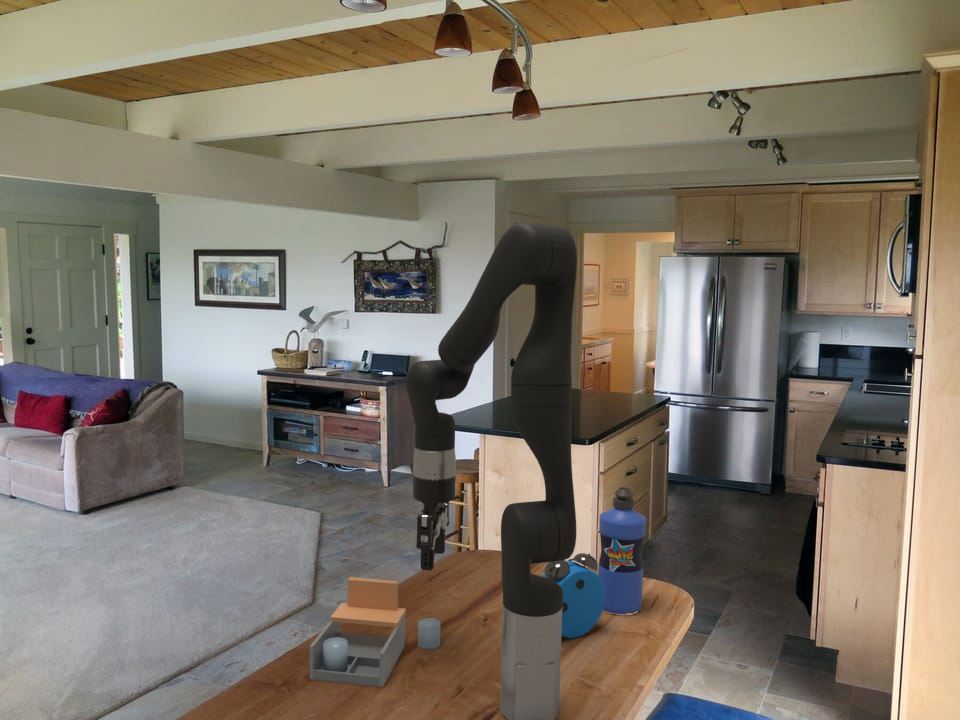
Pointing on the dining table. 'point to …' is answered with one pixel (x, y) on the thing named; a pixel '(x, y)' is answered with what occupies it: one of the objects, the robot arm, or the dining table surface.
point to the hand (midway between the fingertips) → (433, 560)
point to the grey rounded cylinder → (335, 654)
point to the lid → (370, 603)
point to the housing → (359, 656)
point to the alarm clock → (578, 593)
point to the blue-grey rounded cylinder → (429, 633)
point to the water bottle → (622, 554)
